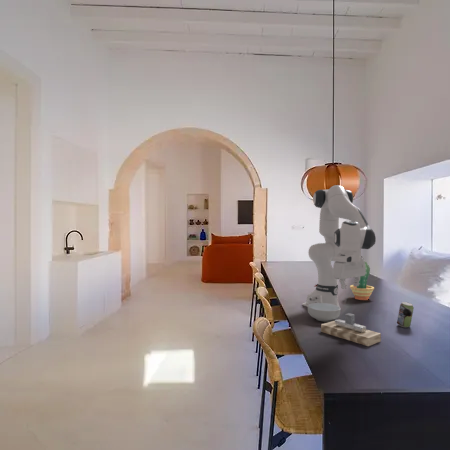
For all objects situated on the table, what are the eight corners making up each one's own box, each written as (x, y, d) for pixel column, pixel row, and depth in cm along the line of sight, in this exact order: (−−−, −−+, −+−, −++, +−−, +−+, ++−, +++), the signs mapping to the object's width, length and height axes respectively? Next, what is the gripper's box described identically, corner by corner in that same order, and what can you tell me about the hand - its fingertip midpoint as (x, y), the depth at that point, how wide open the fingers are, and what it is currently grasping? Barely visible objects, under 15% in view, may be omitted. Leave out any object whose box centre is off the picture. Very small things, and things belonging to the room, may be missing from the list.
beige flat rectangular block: (321, 331, 167) (321, 324, 167) (333, 327, 173) (334, 320, 173) (368, 346, 148) (368, 338, 148) (380, 341, 154) (380, 333, 154)
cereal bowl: (318, 325, 177) (318, 311, 177) (301, 316, 193) (301, 303, 193) (347, 322, 182) (347, 309, 182) (329, 314, 198) (329, 301, 198)
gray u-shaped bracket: (334, 333, 165) (334, 311, 165) (338, 331, 167) (338, 310, 167) (362, 341, 154) (362, 318, 154) (365, 339, 156) (366, 317, 155)
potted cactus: (374, 297, 241) (375, 260, 241) (373, 302, 227) (374, 263, 227) (350, 295, 248) (351, 259, 247) (348, 299, 234) (348, 262, 233)
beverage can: (398, 323, 180) (398, 300, 180) (414, 326, 175) (415, 302, 175) (395, 326, 175) (395, 302, 175) (411, 329, 170) (412, 304, 170)
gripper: (357, 254, 169) (356, 283, 169) (330, 257, 156) (330, 288, 156) (369, 256, 163) (369, 285, 164) (343, 259, 151) (342, 291, 151)
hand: (349, 287), depth 160 cm, fingers open, 8 cm apart
